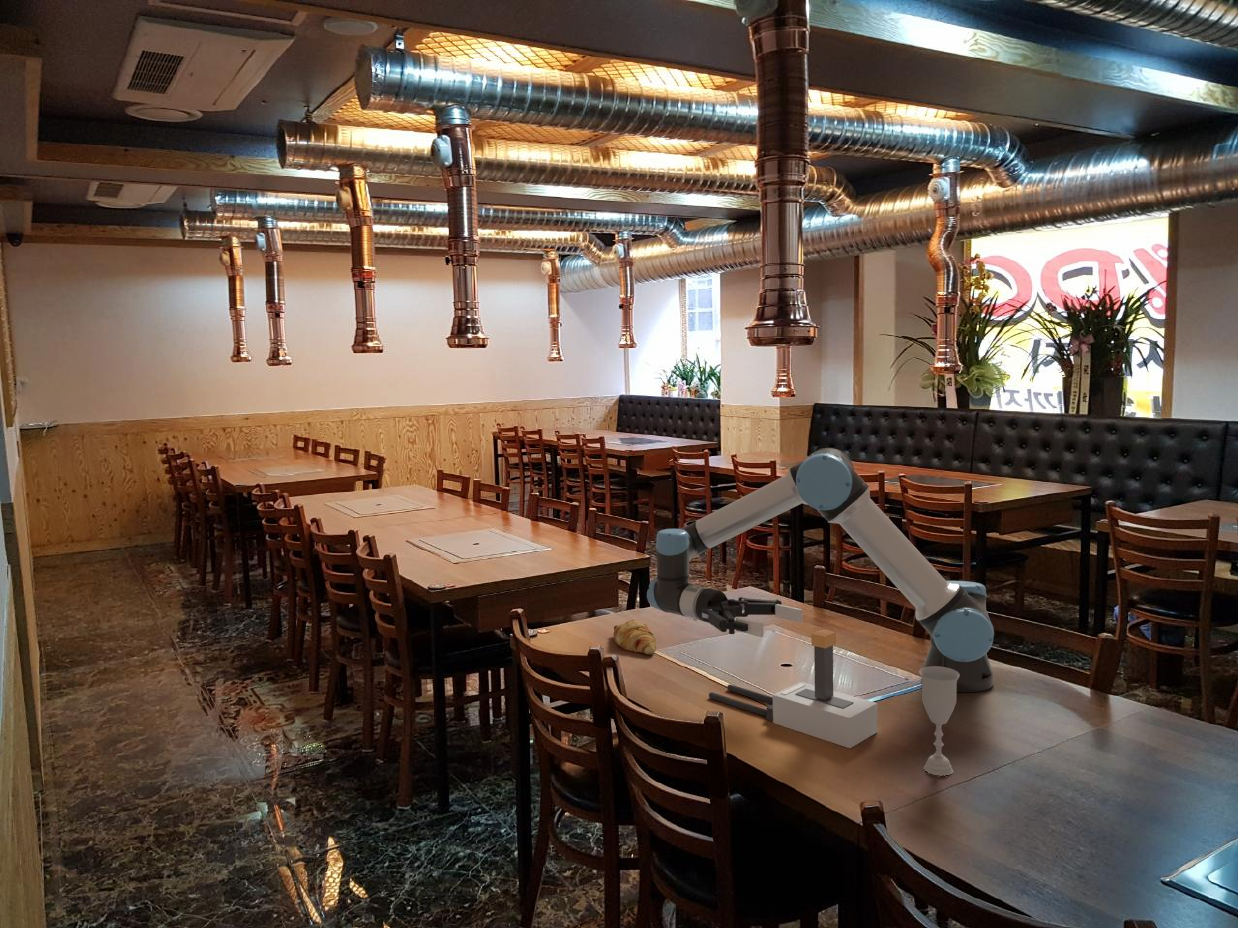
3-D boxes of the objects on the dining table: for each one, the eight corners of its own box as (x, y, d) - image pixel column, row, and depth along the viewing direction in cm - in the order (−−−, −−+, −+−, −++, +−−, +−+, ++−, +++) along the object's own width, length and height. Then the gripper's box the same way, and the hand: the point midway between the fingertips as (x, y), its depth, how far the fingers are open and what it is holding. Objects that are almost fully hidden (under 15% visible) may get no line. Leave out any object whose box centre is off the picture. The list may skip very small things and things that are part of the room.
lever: (811, 697, 176) (811, 633, 175) (822, 691, 179) (822, 629, 177) (825, 701, 174) (825, 636, 172) (836, 695, 176) (835, 632, 175)
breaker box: (773, 722, 180) (772, 693, 179) (801, 708, 187) (801, 680, 186) (850, 748, 167) (849, 717, 166) (877, 732, 174) (877, 702, 173)
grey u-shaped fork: (705, 699, 194) (705, 687, 194) (731, 688, 200) (731, 677, 200) (774, 722, 180) (774, 709, 180) (799, 709, 186) (799, 697, 186)
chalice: (962, 780, 153) (963, 681, 151) (921, 778, 154) (921, 679, 152) (954, 761, 160) (955, 666, 158) (915, 759, 161) (916, 665, 159)
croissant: (663, 668, 225) (675, 639, 226) (633, 656, 220) (645, 627, 221) (624, 644, 244) (635, 617, 245) (595, 633, 239) (607, 606, 240)
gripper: (739, 609, 206) (816, 627, 191) (667, 633, 189) (744, 654, 174) (739, 577, 205) (816, 593, 190) (666, 599, 188) (744, 618, 173)
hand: (782, 622), depth 182 cm, fingers open, 13 cm apart
